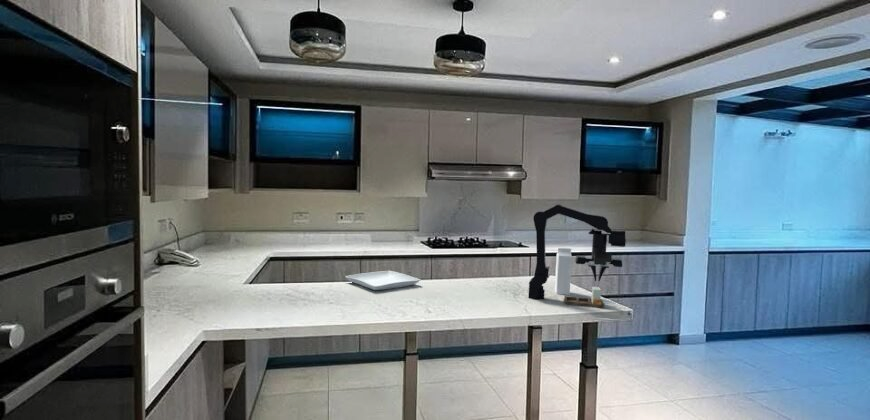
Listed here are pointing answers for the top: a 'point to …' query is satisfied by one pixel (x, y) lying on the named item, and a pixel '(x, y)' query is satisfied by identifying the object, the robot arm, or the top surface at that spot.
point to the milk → (563, 271)
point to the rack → (583, 302)
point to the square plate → (382, 280)
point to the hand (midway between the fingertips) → (597, 281)
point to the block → (596, 293)
